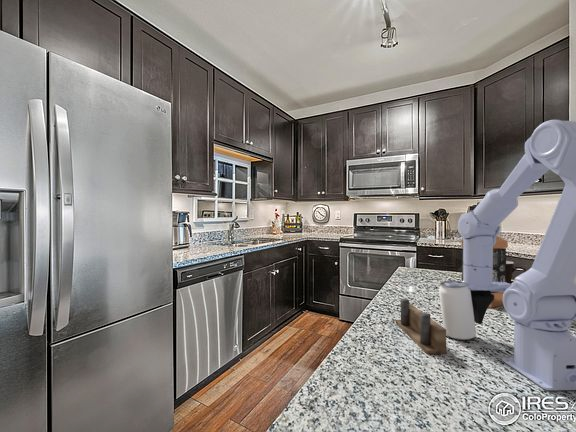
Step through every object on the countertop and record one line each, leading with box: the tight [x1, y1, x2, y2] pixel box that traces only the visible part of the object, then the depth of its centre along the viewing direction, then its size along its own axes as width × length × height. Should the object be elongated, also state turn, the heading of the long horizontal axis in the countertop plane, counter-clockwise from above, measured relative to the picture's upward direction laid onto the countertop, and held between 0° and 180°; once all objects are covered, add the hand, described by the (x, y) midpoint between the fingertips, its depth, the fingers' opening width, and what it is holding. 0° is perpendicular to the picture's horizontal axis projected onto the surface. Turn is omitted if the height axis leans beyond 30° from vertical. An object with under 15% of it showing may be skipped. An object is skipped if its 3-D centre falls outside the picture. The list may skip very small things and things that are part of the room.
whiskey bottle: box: [460, 201, 509, 309], centre depth 90 cm, size 10×10×32 cm
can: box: [438, 280, 477, 341], centre depth 66 cm, size 6×6×12 cm
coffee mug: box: [506, 260, 527, 285], centre depth 103 cm, size 12×9×10 cm
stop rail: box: [395, 298, 447, 355], centre depth 65 cm, size 16×4×7 cm, turn 1°
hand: (477, 322), depth 66 cm, fingers closed
